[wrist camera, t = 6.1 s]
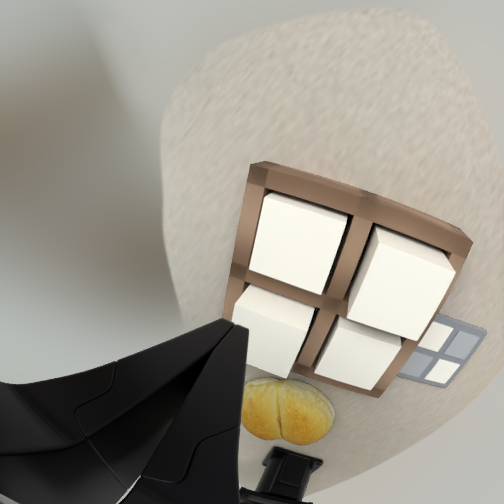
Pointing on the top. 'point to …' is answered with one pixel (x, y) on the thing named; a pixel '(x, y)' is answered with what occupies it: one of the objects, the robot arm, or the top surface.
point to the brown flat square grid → (338, 283)
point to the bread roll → (286, 411)
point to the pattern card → (442, 351)
